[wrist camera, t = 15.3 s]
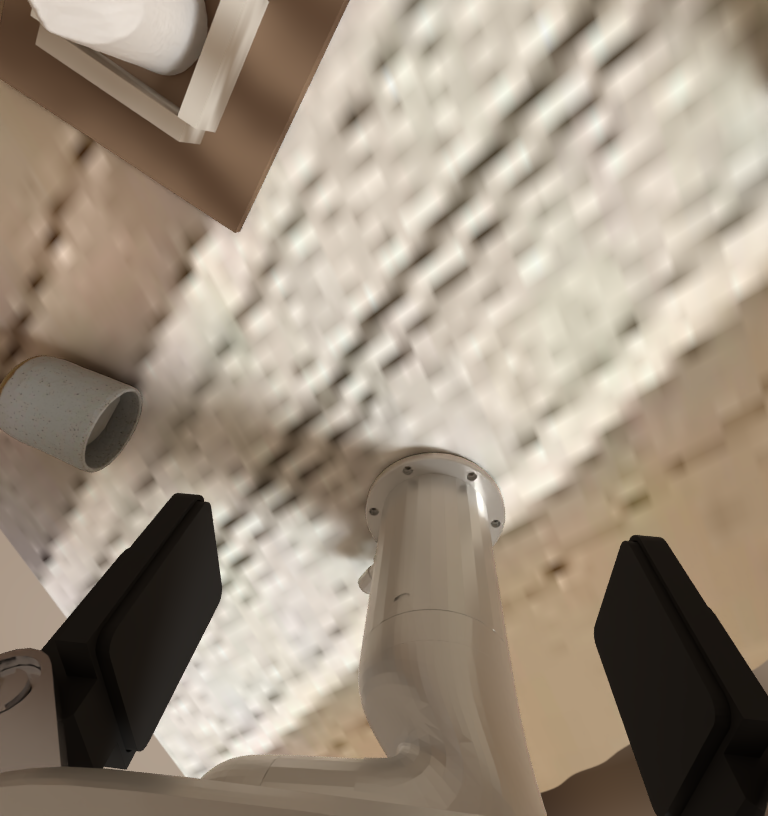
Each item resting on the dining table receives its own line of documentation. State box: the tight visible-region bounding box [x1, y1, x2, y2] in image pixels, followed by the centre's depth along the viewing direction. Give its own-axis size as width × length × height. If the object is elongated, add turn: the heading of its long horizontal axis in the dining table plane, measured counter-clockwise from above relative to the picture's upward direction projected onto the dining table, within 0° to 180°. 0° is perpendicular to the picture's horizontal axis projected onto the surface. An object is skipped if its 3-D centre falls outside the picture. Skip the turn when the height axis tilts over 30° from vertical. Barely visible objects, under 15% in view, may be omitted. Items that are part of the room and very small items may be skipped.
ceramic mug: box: [0, 356, 142, 472], centre depth 40 cm, size 11×8×8 cm
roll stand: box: [0, 0, 349, 233], centre depth 29 cm, size 18×18×4 cm
